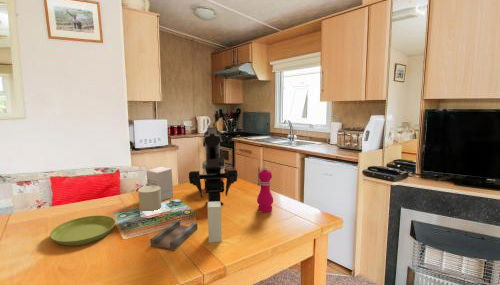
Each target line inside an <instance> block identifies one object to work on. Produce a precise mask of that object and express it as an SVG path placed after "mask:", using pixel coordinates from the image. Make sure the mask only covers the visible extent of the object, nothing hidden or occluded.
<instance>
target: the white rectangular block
mask: <svg viewBox="0 0 500 285" xmlns="http://www.w3.org/2000/svg"><path fill="white" fill-rule="evenodd" d="M220 201H221V200H220ZM220 201H215V202H208V201H207V202H208V205H207V226H208V229H207V230H208V231H207V232H208V233H207V234H208V235H207V236H208V244H211V243H221V242H223V238H222V209H221V208H222V207H221V206H222V205H221V202H222V201H221V202H220Z"/></svg>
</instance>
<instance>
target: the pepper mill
mask: <svg viewBox="0 0 500 285" xmlns="http://www.w3.org/2000/svg"><path fill="white" fill-rule="evenodd" d="M257 176H258V179H259V185H260V190H259V192H258V195H257V199H256V201H257V204H258V206H257V209H258V212H261V213H271V212H272V211H273V206H272V205H273V203H274V198H273V197H274V196H273V194H272V192H271V190H270V188H271V184H272V181H271V180H272V178H273V173H272V171H270V170H269V169H268V167H267V166H263V167H262V170H260V171H259V172H258V175H257Z"/></svg>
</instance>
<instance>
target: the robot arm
mask: <svg viewBox="0 0 500 285" xmlns="http://www.w3.org/2000/svg"><path fill="white" fill-rule="evenodd" d="M206 129H207V130H206V131H205V132H204V133H203V134H204V136H203V142H202V146H203V147H204V148H205V161H206V174H203V173H200V170H191V171H189V172H188V180H189V184H191V185H192V186H196V188H197V190H198V192H199V195H200V198H201V199H202V198H203V190H202V183H201V180H204V179H206V181H204V194H207V198H208V201H205V204H206V205H207V206H208V202H215V201H220V202H221V206H223V205H224V202H222V201H221V193H224V192H225V197H227V196H228V194H229V190H230V188H231V185H232V184H233V185H234V183H235V182H238V170H237V169H236V168H234V169H233V168H232V169H227V170H226V172H225V173H221V166H224V162H225V156H223V157H221V154H220V153H221V152H220V150H221V147H222V146H223V145H224V140H223V139H222V137H221V136H222V133H221V132H220V131H219V130H218V127H215V126H214V127H213V126H211V127H207V128H206ZM221 178H224V179H226V183H225V182H224V180H221Z"/></svg>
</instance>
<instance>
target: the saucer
mask: <svg viewBox="0 0 500 285" xmlns="http://www.w3.org/2000/svg"><path fill="white" fill-rule="evenodd" d="M115 225H116V220H115V219H114V217H111V216H108V215H88V216H83V217H82V216H81V217H78V218H75V219H71V220H68V221H66V222H63V223H61V224H59V225H58V226H56V227H54V228H53V229H52V230H51V232H50V233H49V238H51V240H53V241H54V242H56V243H58V244H60V245H63V246H68V247H70V246H71V247H72V246H73V247H75V246H83V245H86V244H91V243H93V242H96V241H98V240H101V239H102V238H104V237H106V236H107V235H108V234H109V233H111V231H112V230H113V228H114V227H115Z"/></svg>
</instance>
